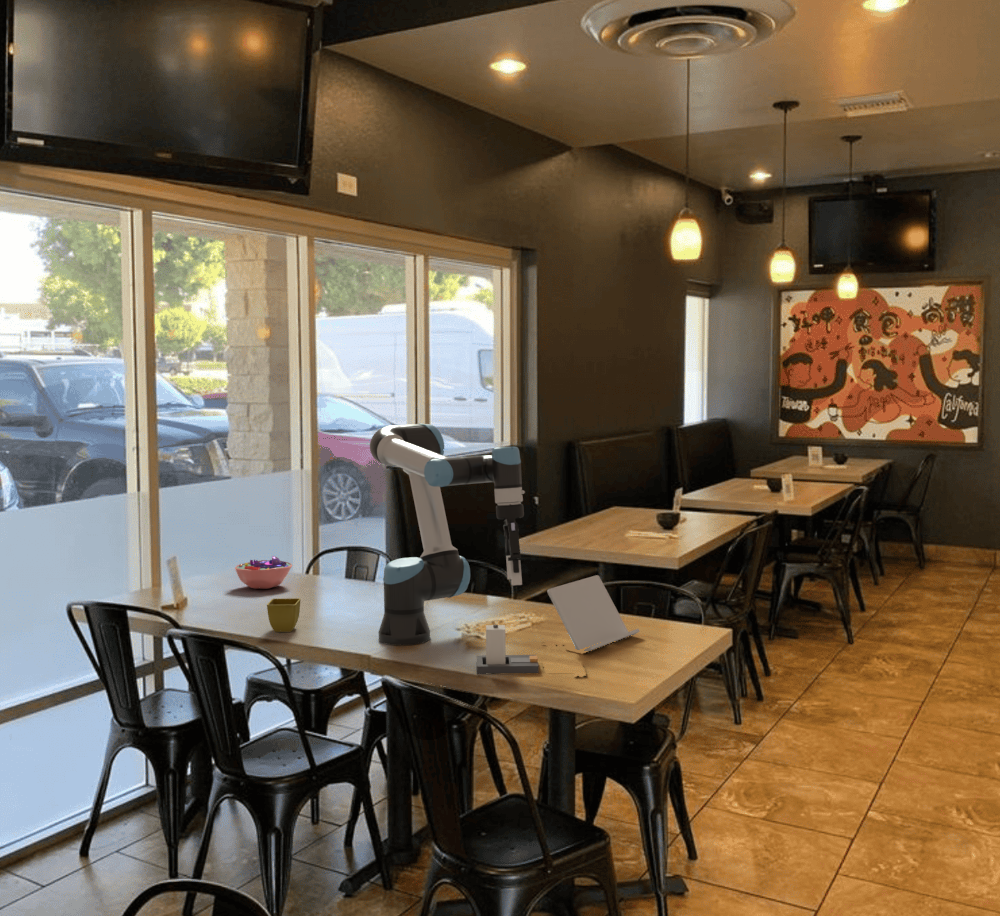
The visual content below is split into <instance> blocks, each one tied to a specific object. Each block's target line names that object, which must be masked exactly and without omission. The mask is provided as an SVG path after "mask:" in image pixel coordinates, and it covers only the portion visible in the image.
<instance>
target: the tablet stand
mask: <svg viewBox="0 0 1000 916" xmlns="http://www.w3.org/2000/svg"><path fill="white" fill-rule="evenodd" d="M546 592H547V595H548V596H549V599H550V600H551V603H552V604H553V606H554V608H555V610H556V612H557V614H558V616H559V618H560V620H561V621H562V625H564V628H565V630H566V631H567V634H569V636H570V638H571V640H572V642H573V644H574V646H575V649H577V650H580V649H583V648H585V647H589V646H590V647H589V648H587V649H585V650H584V651H591V650H593V651H595V650H594V649H596V648H599V647H601V648H603V647H602V646H604V645H607V644H609V643H611V642H614V641H617V642H619V641H618V640H620V641H622V640H624V639H623V638H625V639H627V638H626V637H628V636H630V637H632V636H631V635H633V636H634V635H636V634H638V633H640V631H641V630H640V628H636V629H632V630H631V631H629V629H628V628H627V627H626V625H625V623H624V621H623V619H622V617H621V615H620V613H619V611H618V609H617V607H616V606H615V604H614V602H613V600H612V598H611V596H610V594H609V592H608V590H607V588H606V587H605V584H604V583H603V581H602V579H601V577H600V575H598V574H597V575H596V574H595V575H593V576H589V577H586V578H582V579H580V580H579V579H578V580H575V581H572V582H568V583H565V584H562V585H558V586H553V587H550V588H548V589H547V591H546ZM628 638H629V637H628ZM621 639H622V640H621ZM600 642H601V643H600ZM597 643H598V644H597ZM594 644H595V645H594ZM592 645H593V646H592ZM609 645H610V644H609ZM607 646H608V645H607ZM604 647H605V646H604ZM599 649H600V648H599ZM596 650H597V649H596ZM591 652H592V651H591Z"/></svg>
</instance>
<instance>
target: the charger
mask: <svg viewBox="0 0 1000 916" xmlns="http://www.w3.org/2000/svg"><path fill="white" fill-rule="evenodd" d="M485 655H486V664H505V655H506V625H505V624H491V625H490V624H489V625H488V624H486V625H485Z"/></svg>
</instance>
